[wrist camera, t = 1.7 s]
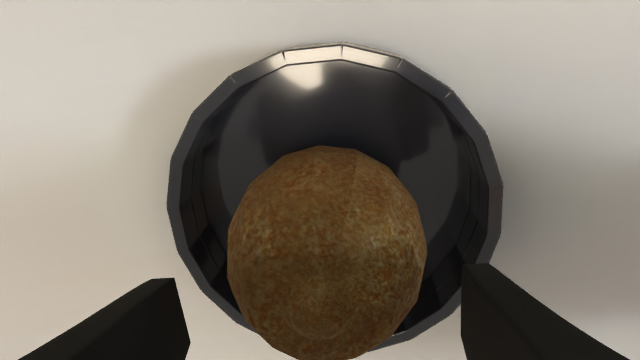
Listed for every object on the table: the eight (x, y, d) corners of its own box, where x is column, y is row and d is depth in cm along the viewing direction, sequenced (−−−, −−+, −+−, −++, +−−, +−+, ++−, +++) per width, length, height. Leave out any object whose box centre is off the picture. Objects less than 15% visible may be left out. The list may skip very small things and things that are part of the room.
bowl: (484, 26, 15) (511, 26, 12) (476, 305, 19) (495, 349, 16) (167, 60, 16) (131, 65, 14) (222, 314, 20) (202, 357, 18)
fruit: (229, 203, 18) (136, 332, 10) (321, 88, 16) (291, 143, 8) (342, 287, 19) (333, 461, 11) (442, 188, 17) (513, 318, 9)
